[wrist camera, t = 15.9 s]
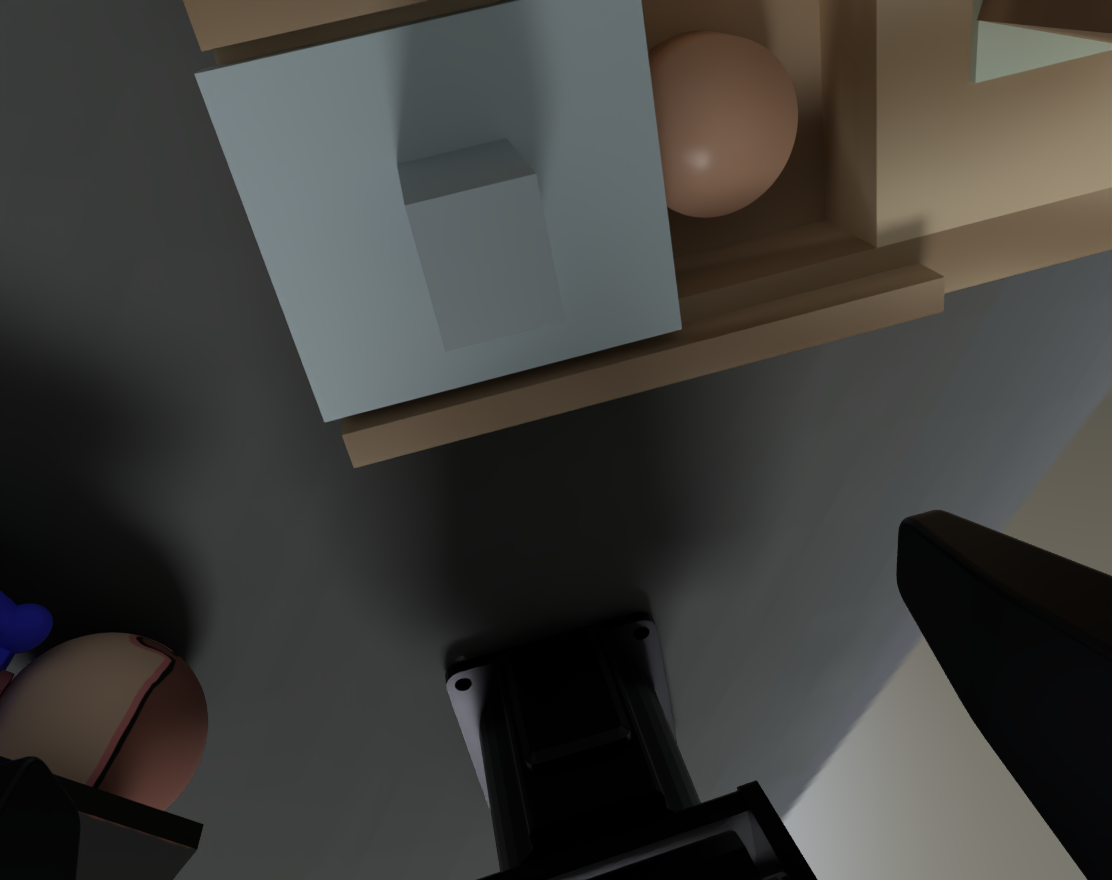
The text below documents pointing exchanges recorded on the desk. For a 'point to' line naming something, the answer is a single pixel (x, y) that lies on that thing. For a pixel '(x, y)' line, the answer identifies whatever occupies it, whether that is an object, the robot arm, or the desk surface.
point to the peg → (1053, 16)
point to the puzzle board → (803, 188)
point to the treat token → (720, 120)
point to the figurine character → (107, 739)
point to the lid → (454, 194)
